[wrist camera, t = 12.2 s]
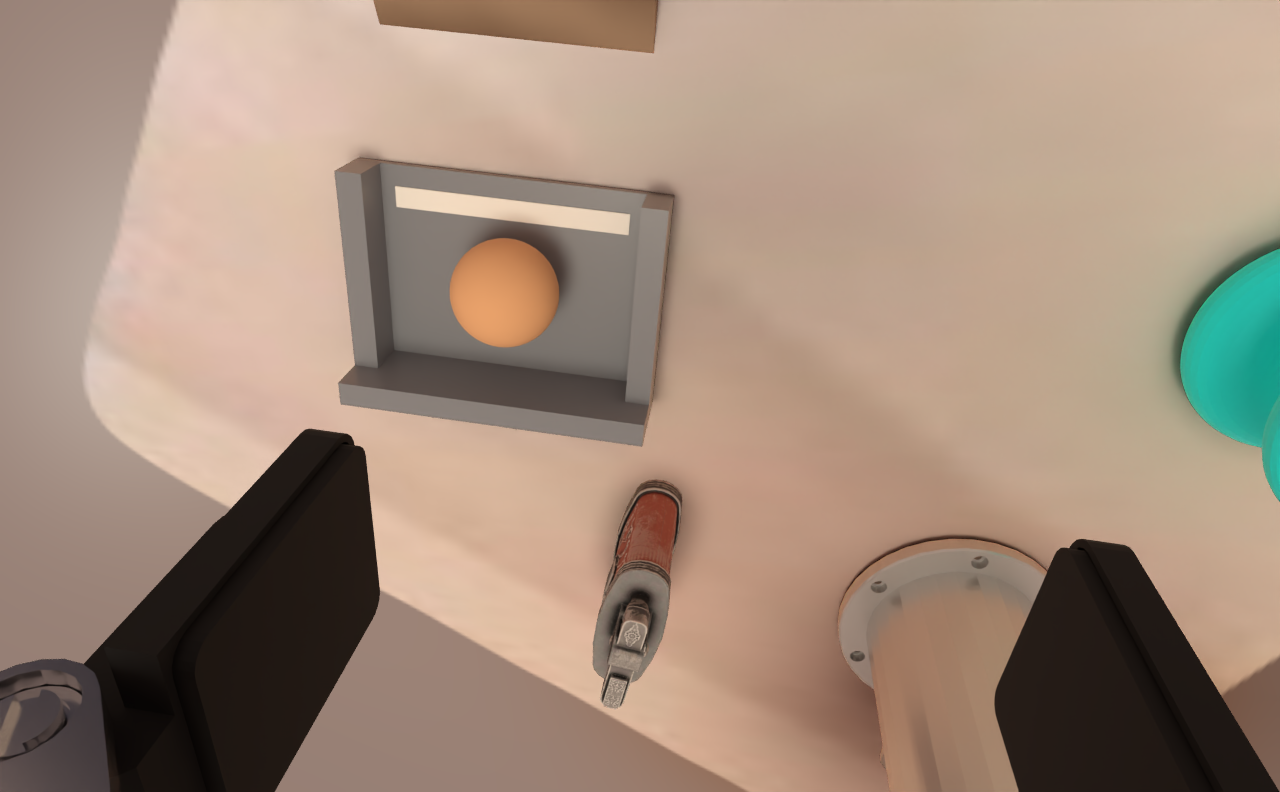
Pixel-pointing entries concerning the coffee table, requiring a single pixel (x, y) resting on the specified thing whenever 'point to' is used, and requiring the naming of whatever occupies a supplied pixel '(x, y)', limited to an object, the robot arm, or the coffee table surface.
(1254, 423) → the donuts
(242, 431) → the coffee table surface
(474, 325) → the ball
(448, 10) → the ramp
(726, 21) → the coffee table surface
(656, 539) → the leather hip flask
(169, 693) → the robot arm
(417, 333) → the box
